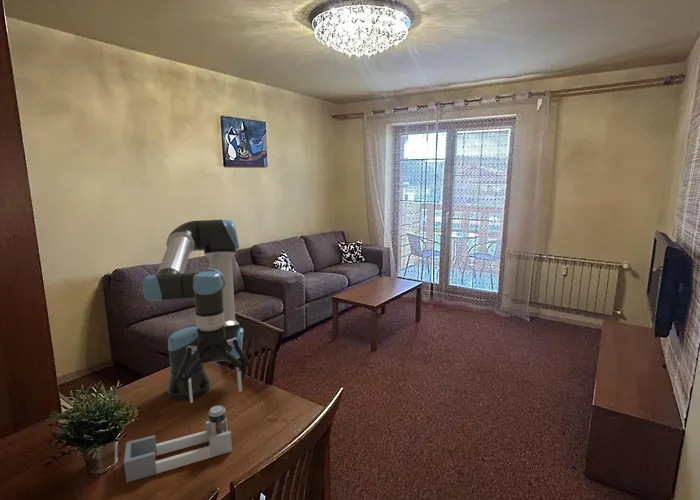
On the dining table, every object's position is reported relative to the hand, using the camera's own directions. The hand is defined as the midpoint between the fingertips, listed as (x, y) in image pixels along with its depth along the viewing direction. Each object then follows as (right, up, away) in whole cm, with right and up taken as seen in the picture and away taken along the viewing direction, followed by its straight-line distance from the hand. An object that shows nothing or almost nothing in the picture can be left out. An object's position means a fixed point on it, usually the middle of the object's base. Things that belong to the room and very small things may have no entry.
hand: (216, 394), depth 114 cm
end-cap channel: (-10, -17, -2) cm, 20 cm away
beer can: (0, -16, +3) cm, 17 cm away
